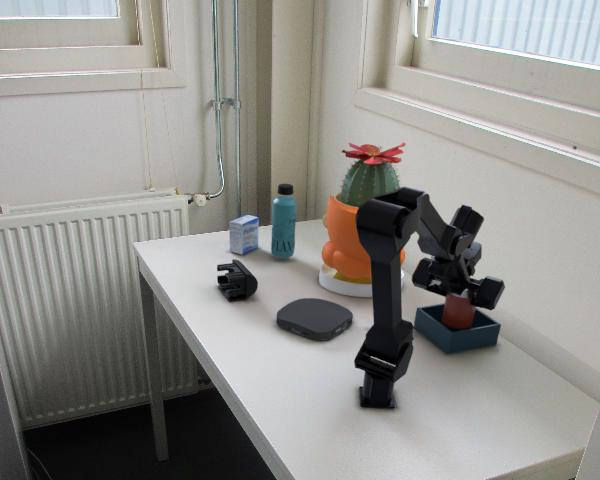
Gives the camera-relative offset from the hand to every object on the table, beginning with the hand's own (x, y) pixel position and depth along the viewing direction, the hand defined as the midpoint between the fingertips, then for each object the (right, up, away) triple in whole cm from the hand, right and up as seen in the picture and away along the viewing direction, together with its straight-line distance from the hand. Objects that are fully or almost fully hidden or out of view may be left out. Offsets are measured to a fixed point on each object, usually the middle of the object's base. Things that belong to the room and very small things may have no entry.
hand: (463, 300), depth 148 cm
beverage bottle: (-41, +17, +37) cm, 57 cm away
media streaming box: (-33, -5, +5) cm, 33 cm away
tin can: (-1, -6, +3) cm, 7 cm away
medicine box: (-52, +20, +41) cm, 69 cm away
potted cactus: (-20, +7, +24) cm, 32 cm away
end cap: (-51, +4, +17) cm, 54 cm away
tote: (-1, -7, +4) cm, 8 cm away
